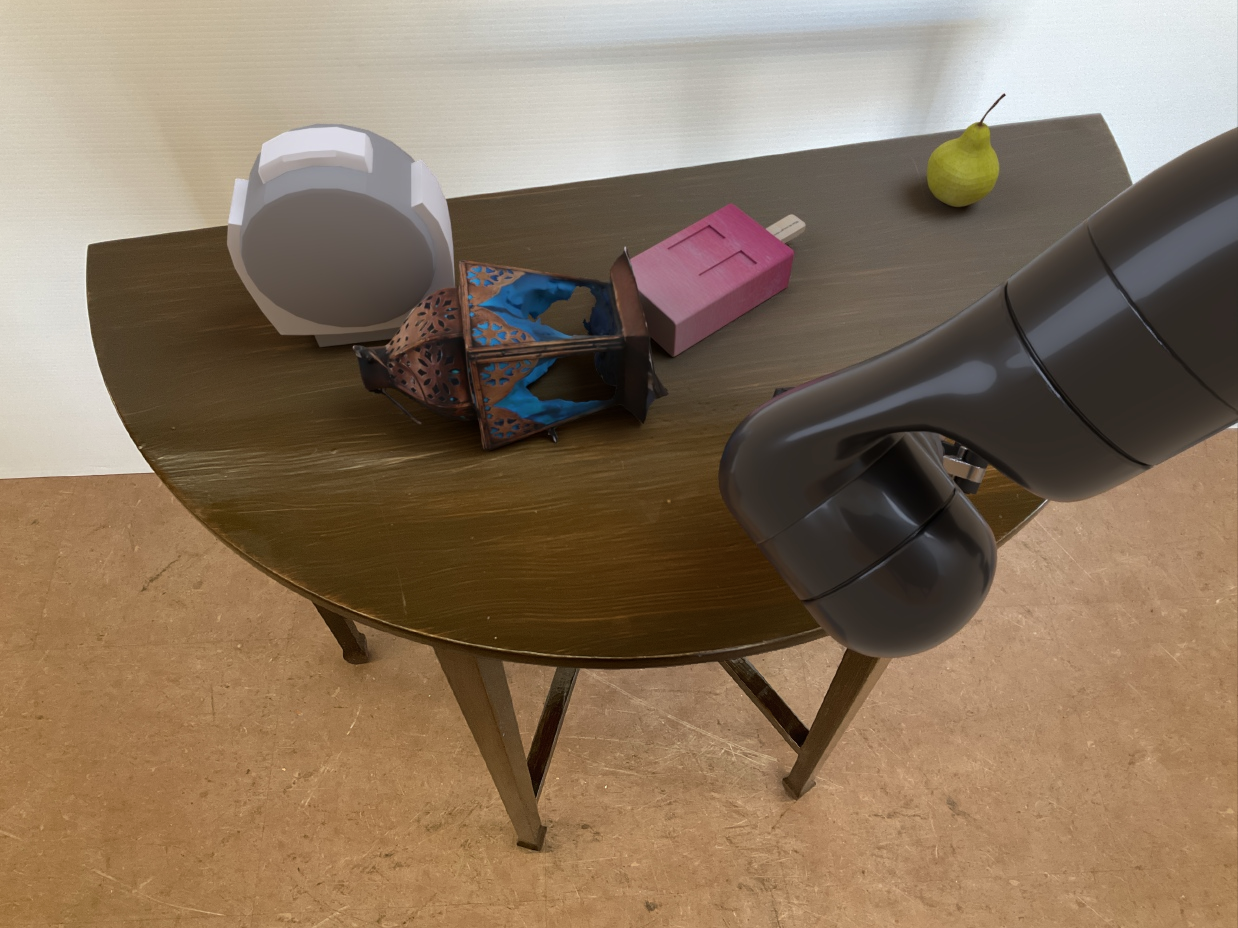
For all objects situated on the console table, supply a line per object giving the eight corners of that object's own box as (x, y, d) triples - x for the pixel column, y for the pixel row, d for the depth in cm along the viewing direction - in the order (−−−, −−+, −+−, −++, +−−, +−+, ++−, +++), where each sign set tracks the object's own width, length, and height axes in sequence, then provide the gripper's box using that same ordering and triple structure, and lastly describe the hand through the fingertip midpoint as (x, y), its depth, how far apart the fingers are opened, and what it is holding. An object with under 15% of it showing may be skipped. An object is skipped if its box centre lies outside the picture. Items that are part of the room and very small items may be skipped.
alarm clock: (466, 280, 86) (424, 97, 69) (469, 343, 81) (425, 162, 65) (285, 300, 85) (198, 119, 68) (278, 365, 80) (182, 188, 63)
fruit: (932, 225, 89) (969, 123, 79) (908, 183, 93) (940, 81, 83) (994, 215, 90) (1039, 113, 80) (968, 174, 94) (1007, 72, 84)
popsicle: (835, 227, 82) (675, 323, 76) (826, 264, 86) (673, 359, 80) (769, 179, 86) (612, 266, 80) (763, 217, 90) (613, 303, 84)
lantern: (642, 409, 84) (385, 444, 81) (626, 240, 80) (353, 270, 77) (681, 447, 69) (365, 492, 65) (664, 240, 65) (324, 277, 61)
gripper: (1030, 432, 44) (996, 405, 60) (766, 350, 48) (799, 345, 64) (976, 563, 46) (957, 504, 62) (725, 475, 50) (768, 440, 66)
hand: (877, 423), depth 63 cm, fingers closed on can, 6 cm apart
